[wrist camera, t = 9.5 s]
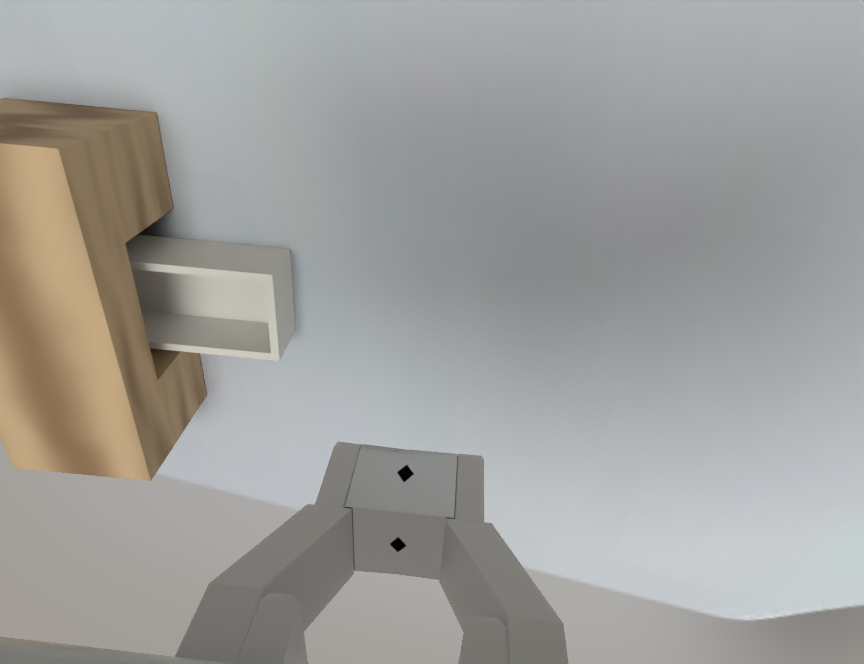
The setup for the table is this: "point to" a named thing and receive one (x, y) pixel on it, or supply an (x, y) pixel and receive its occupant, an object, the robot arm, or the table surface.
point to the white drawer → (214, 296)
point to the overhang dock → (83, 294)
